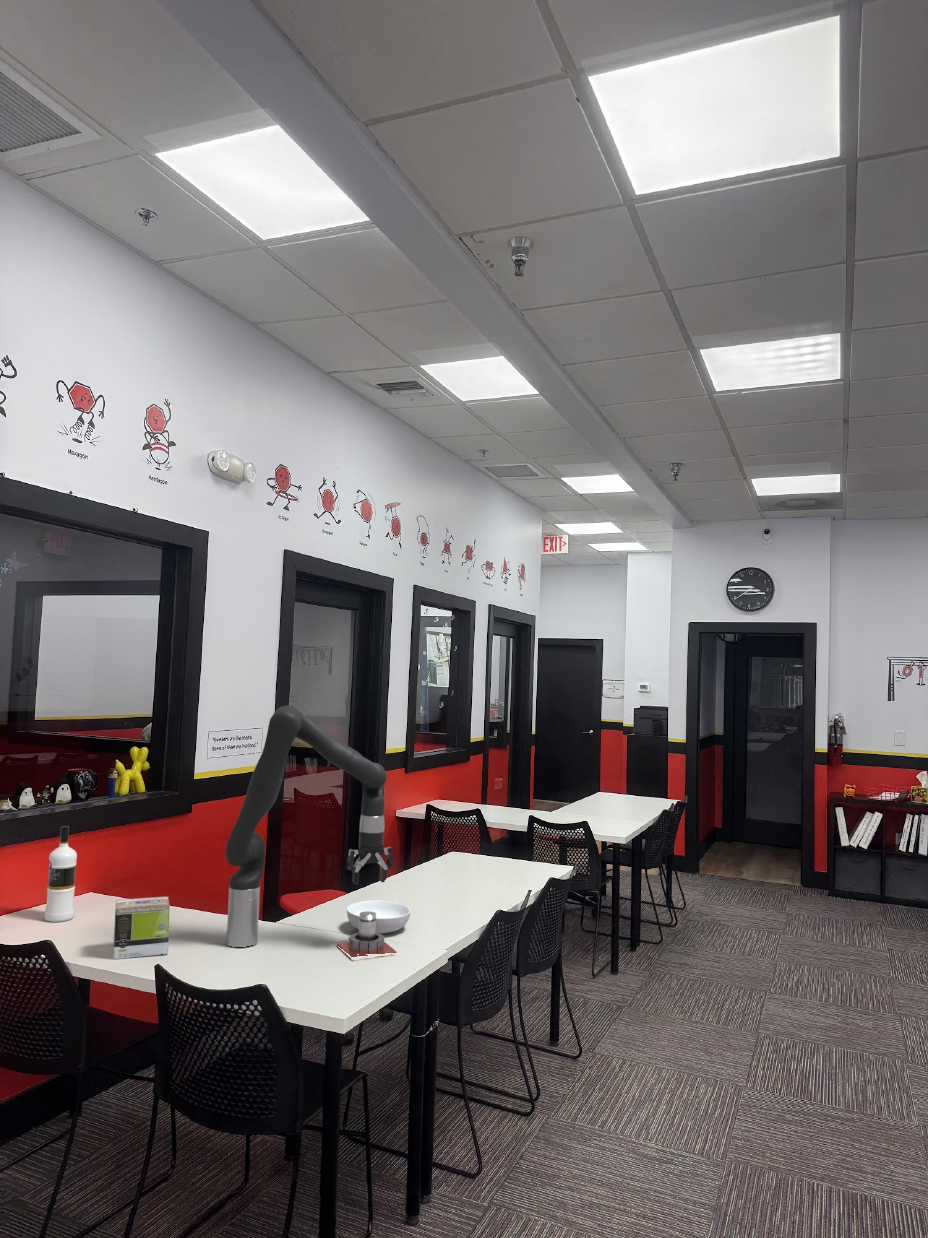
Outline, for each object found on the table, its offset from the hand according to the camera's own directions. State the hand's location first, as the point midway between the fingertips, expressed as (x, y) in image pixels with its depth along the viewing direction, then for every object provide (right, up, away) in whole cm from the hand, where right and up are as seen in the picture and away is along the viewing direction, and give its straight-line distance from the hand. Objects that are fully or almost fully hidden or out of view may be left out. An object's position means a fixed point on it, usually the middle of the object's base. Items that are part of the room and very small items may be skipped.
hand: (369, 883), depth 261 cm
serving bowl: (+1, -22, +19) cm, 29 cm away
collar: (-1, -20, -2) cm, 20 cm away
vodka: (-104, -18, +19) cm, 107 cm away
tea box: (-66, -18, -10) cm, 69 cm away
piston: (-1, -19, -2) cm, 19 cm away
